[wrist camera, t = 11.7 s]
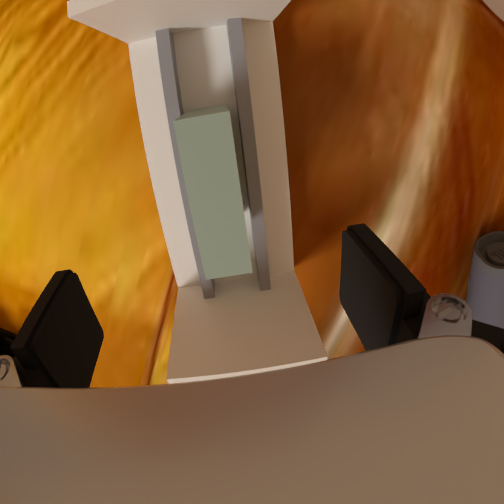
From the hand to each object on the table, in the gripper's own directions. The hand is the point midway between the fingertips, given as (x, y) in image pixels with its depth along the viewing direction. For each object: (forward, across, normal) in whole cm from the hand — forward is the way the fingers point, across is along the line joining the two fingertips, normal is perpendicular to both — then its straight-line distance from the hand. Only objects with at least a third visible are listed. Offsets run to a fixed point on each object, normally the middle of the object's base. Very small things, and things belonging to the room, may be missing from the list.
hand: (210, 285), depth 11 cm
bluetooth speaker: (+20, -37, +23) cm, 48 cm away
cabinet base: (+20, -1, 0) cm, 20 cm away
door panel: (+18, 0, 0) cm, 18 cm away
